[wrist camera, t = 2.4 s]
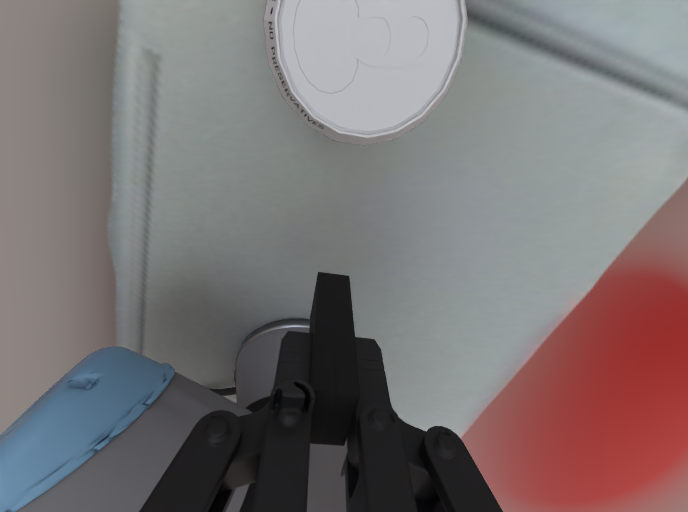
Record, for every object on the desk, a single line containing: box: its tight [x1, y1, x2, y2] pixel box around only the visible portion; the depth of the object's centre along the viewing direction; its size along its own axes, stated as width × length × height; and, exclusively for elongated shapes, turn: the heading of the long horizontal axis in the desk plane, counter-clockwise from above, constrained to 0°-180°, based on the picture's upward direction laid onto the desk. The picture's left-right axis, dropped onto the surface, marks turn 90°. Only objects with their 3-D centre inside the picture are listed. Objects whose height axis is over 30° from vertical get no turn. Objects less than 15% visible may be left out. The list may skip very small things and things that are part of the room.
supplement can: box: [264, 0, 468, 146], centre depth 19 cm, size 8×8×15 cm
